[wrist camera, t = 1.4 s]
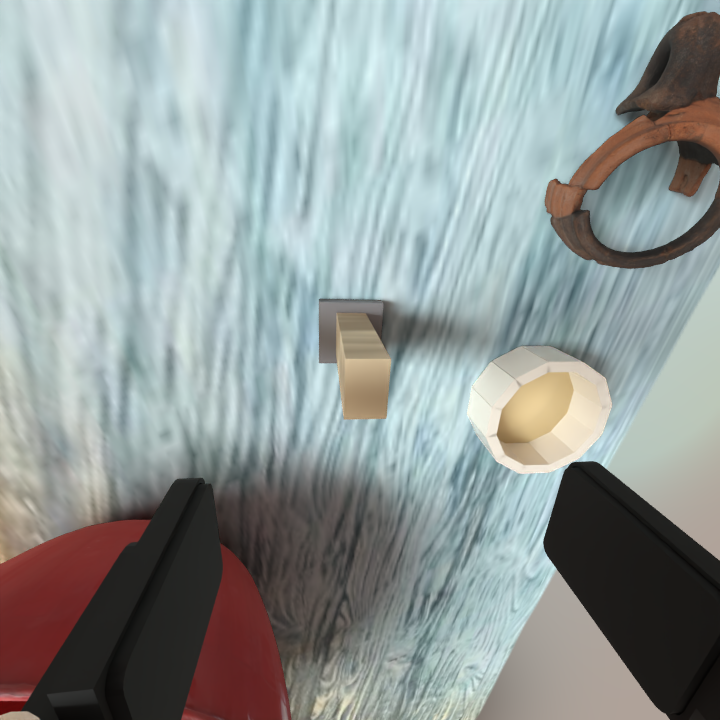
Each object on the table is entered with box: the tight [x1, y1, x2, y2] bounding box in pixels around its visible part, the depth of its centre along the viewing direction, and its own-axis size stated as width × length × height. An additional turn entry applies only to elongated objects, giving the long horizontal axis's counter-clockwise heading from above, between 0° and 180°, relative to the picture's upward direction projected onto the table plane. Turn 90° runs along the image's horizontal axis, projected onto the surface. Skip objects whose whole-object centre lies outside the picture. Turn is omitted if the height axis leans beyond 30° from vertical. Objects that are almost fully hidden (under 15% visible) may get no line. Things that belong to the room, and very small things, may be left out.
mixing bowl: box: [0, 520, 291, 720], centre depth 24 cm, size 28×28×16 cm
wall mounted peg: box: [319, 299, 391, 419], centre depth 20 cm, size 4×4×10 cm
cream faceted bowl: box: [467, 346, 612, 474], centre depth 27 cm, size 10×10×4 cm
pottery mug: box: [545, 11, 720, 269], centre depth 20 cm, size 12×9×8 cm
